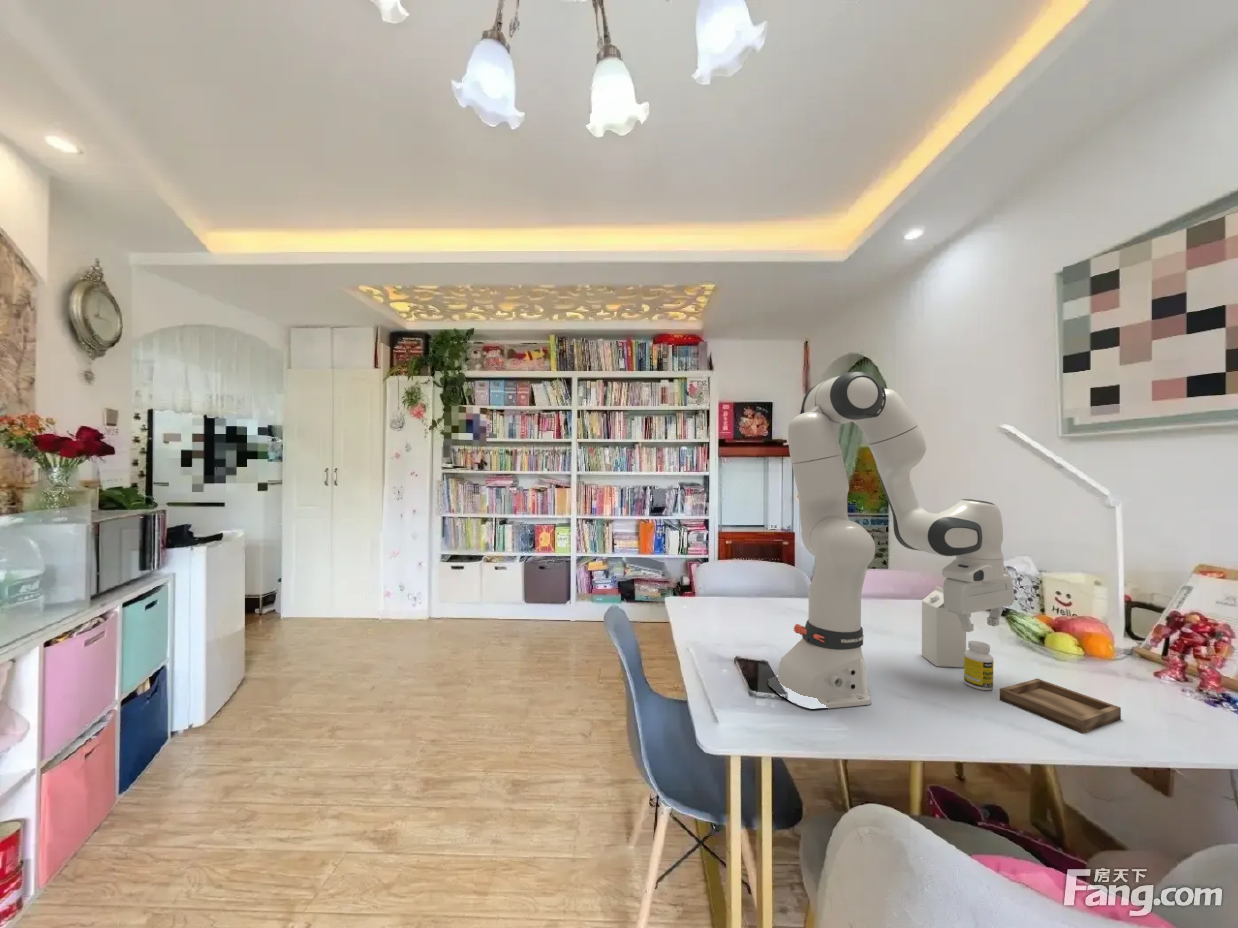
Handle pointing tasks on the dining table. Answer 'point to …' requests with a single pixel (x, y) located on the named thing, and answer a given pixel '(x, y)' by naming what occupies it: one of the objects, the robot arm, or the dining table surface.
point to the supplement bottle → (978, 666)
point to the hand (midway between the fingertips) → (980, 628)
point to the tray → (1061, 705)
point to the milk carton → (941, 632)
